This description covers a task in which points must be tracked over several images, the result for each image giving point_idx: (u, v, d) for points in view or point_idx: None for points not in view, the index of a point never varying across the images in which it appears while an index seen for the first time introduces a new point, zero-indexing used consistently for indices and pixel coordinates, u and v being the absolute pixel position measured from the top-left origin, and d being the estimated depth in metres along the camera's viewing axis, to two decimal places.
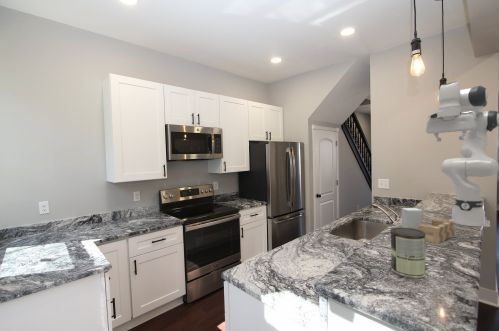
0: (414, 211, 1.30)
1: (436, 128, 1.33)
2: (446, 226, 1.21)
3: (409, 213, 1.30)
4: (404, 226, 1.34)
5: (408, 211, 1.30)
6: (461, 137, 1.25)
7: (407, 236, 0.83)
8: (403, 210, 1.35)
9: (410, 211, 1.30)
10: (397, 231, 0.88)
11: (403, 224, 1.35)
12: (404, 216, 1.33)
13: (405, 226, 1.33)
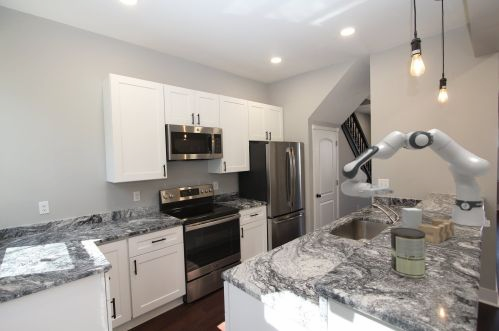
0: (414, 211, 1.30)
1: None
2: (446, 226, 1.21)
3: (409, 213, 1.30)
4: (404, 226, 1.34)
5: (408, 211, 1.30)
6: (383, 194, 1.40)
7: (407, 236, 0.83)
8: (403, 210, 1.35)
9: (410, 211, 1.30)
10: (397, 231, 0.88)
11: (403, 224, 1.35)
12: (405, 216, 1.33)
13: (405, 226, 1.33)
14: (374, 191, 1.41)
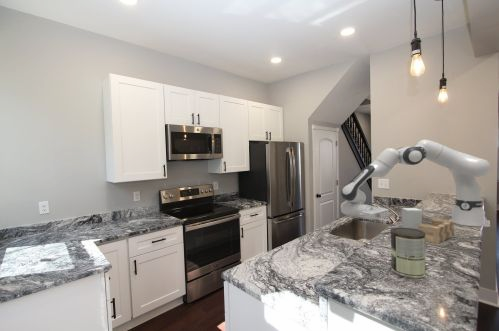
0: (414, 211, 1.30)
1: None
2: (446, 226, 1.21)
3: (409, 213, 1.30)
4: (404, 226, 1.34)
5: (408, 211, 1.30)
6: None
7: (407, 236, 0.83)
8: (403, 210, 1.35)
9: (410, 211, 1.30)
10: (397, 231, 0.88)
11: (403, 224, 1.35)
12: (404, 216, 1.33)
13: (405, 226, 1.33)
14: (374, 214, 1.42)
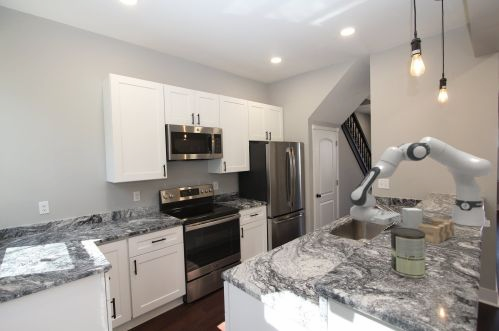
0: (414, 211, 1.30)
1: None
2: (446, 226, 1.21)
3: (409, 213, 1.30)
4: (404, 226, 1.34)
5: (408, 211, 1.30)
6: None
7: (407, 236, 0.83)
8: (403, 210, 1.35)
9: (410, 211, 1.30)
10: (397, 231, 0.88)
11: (403, 224, 1.35)
12: (405, 216, 1.33)
13: (405, 226, 1.32)
14: (386, 220, 1.37)
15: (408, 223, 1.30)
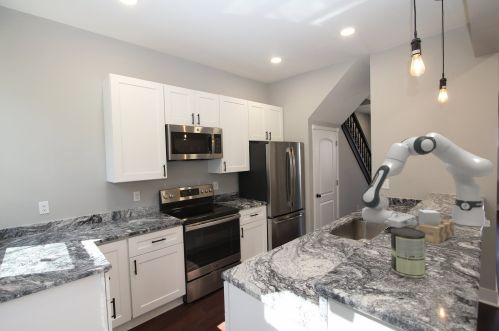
0: (432, 213, 1.23)
1: None
2: (446, 226, 1.21)
3: (426, 215, 1.24)
4: None
5: (425, 213, 1.24)
6: None
7: (407, 236, 0.83)
8: (420, 212, 1.28)
9: (428, 213, 1.24)
10: (397, 231, 0.88)
11: None
12: (421, 218, 1.26)
13: None
14: (401, 222, 1.30)
15: None
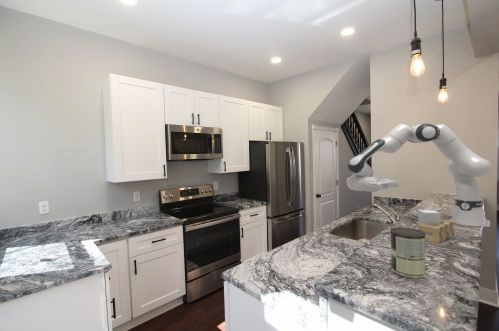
0: (432, 214, 1.23)
1: None
2: (446, 226, 1.21)
3: (426, 216, 1.24)
4: None
5: (425, 213, 1.24)
6: (394, 187, 1.39)
7: (407, 236, 0.83)
8: (420, 212, 1.28)
9: (427, 213, 1.24)
10: (397, 231, 0.88)
11: None
12: (421, 219, 1.26)
13: None
14: (381, 185, 1.38)
15: None
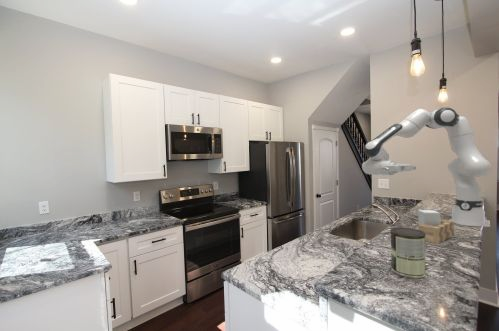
0: (432, 214, 1.23)
1: None
2: (446, 226, 1.21)
3: (426, 216, 1.24)
4: None
5: (425, 213, 1.24)
6: (411, 169, 1.41)
7: (407, 236, 0.83)
8: (420, 212, 1.28)
9: (427, 213, 1.24)
10: (397, 231, 0.88)
11: None
12: (421, 219, 1.26)
13: None
14: (399, 166, 1.40)
15: None
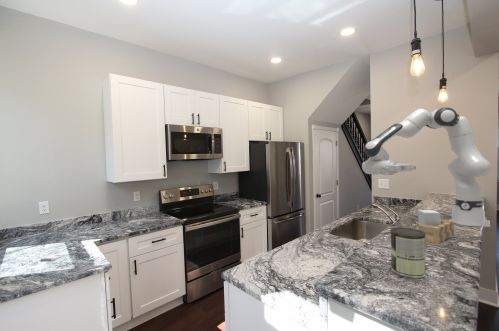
0: (432, 214, 1.23)
1: None
2: (446, 226, 1.21)
3: (426, 216, 1.24)
4: None
5: (425, 213, 1.24)
6: (411, 169, 1.41)
7: (407, 236, 0.83)
8: (420, 212, 1.28)
9: (427, 213, 1.24)
10: (397, 231, 0.88)
11: None
12: (421, 219, 1.26)
13: None
14: (399, 166, 1.40)
15: None
